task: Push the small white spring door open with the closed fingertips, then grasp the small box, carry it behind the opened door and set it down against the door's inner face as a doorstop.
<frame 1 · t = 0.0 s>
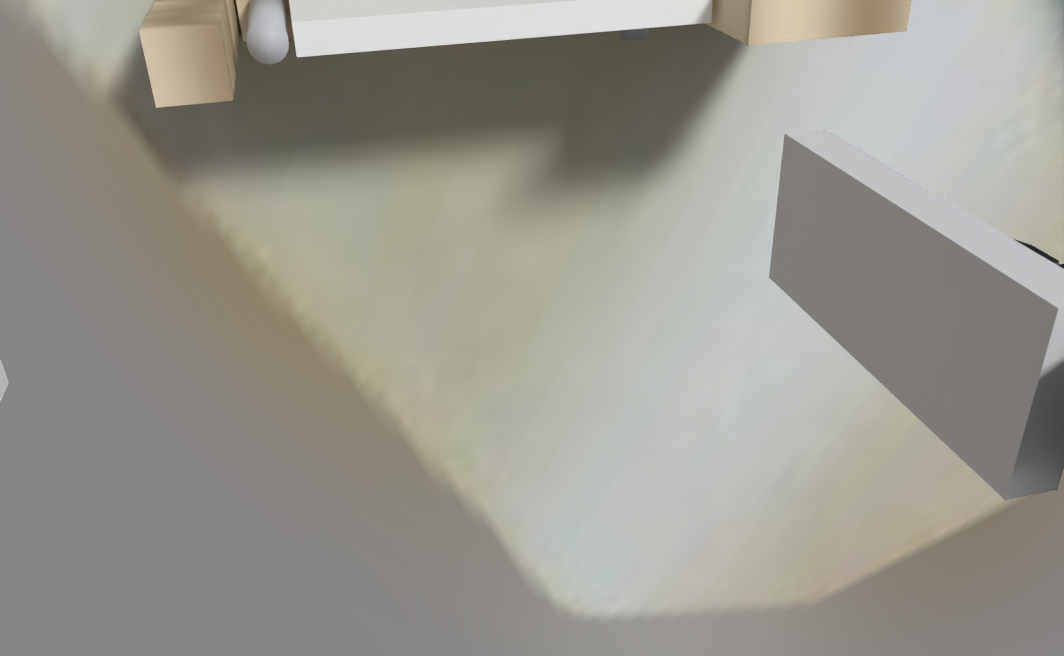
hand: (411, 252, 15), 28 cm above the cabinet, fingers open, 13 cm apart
door frame: (267, 3, 39), on the cabinet
door: (474, 19, 37), point 4 cm above the cabinet, hinge at 0.0°
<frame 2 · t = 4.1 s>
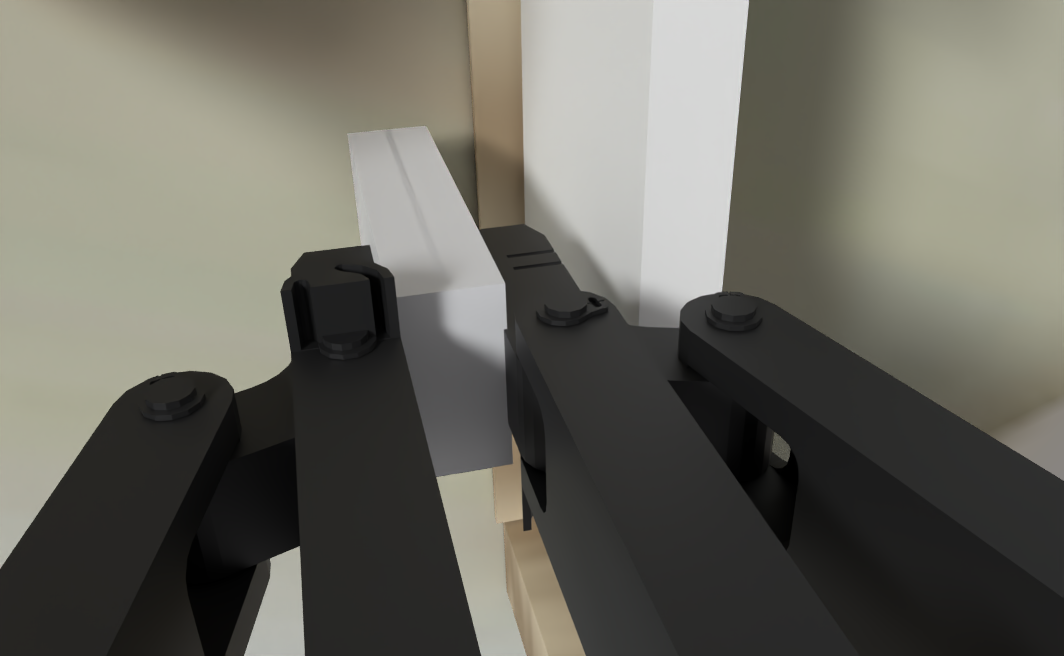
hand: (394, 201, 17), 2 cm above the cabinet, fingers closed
door frame: (549, 470, 23), on the cabinet
door: (632, 236, 16), point 4 cm above the cabinet, hinge at 0.6°, touching gripper
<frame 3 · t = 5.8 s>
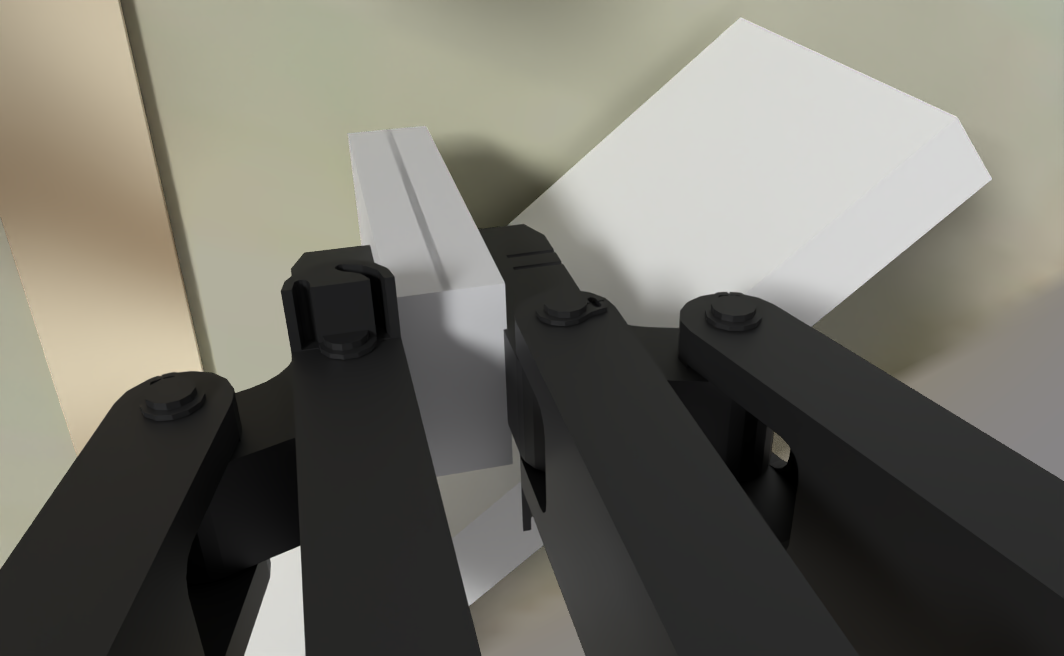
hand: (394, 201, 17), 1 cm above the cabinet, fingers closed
door frame: (176, 540, 22), on the cabinet
door: (479, 433, 17), point 4 cm above the cabinet, hinge at 51.6°, touching gripper
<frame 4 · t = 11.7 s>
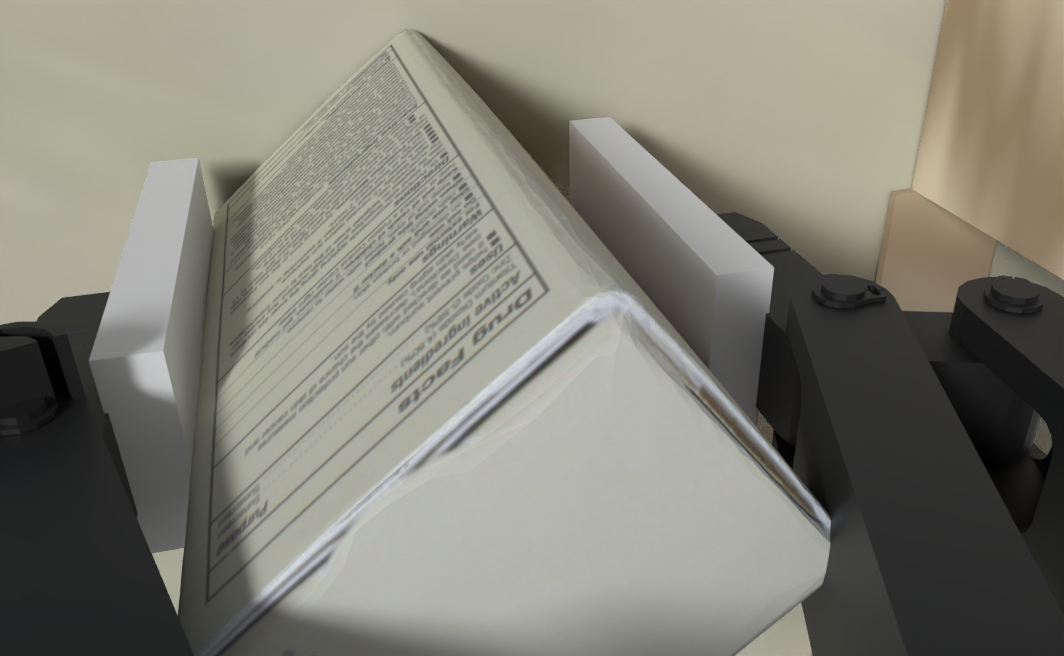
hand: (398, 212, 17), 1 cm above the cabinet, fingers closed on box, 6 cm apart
box: (392, 189, 18), on the cabinet, touching gripper
when the fingers open (2 cm above the cabinet, at t = 16.9 s): box drops 1 cm, on the cabinet.
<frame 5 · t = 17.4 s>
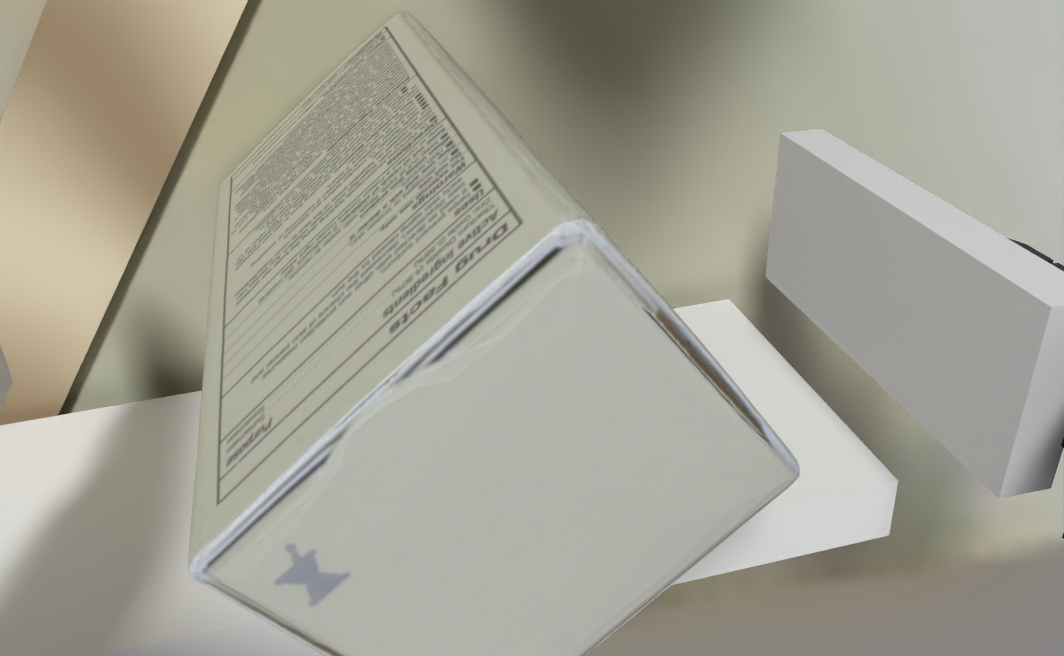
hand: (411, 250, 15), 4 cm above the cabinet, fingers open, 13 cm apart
box: (387, 165, 19), on the cabinet
door: (372, 510, 18), point 4 cm above the cabinet, hinge at 55.1°
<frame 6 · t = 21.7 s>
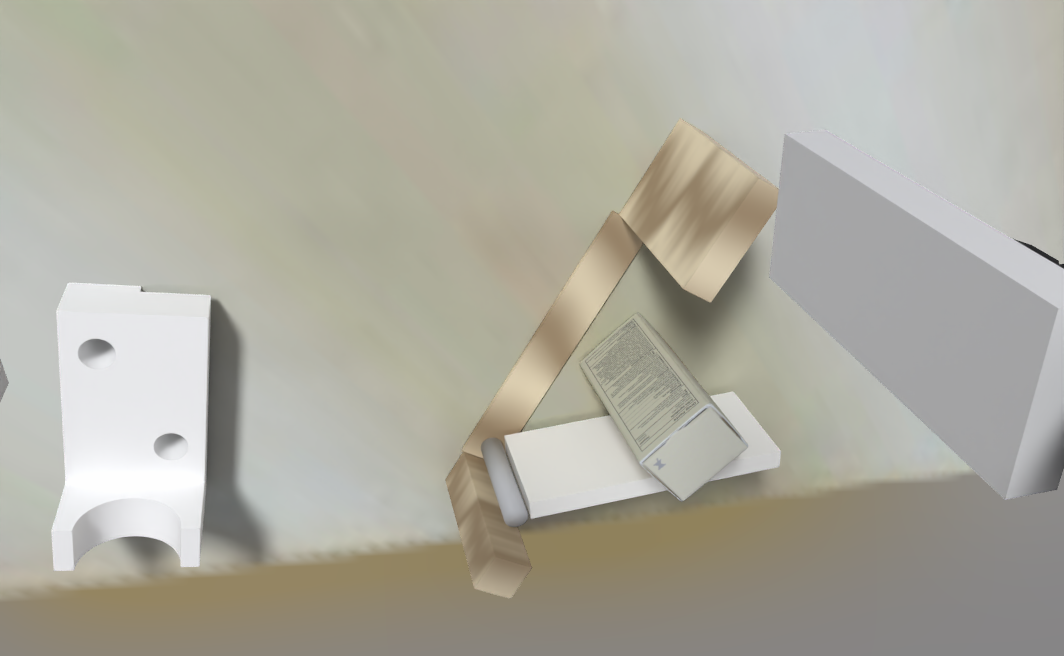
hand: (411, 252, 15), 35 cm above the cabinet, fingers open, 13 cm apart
box: (626, 353, 60), on the cabinet
bracket: (143, 386, 54), on the cabinet
door frame: (489, 441, 61), on the cabinet
door: (627, 460, 59), point 4 cm above the cabinet, hinge at 55.1°
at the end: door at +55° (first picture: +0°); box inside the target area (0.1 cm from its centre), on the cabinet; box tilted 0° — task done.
